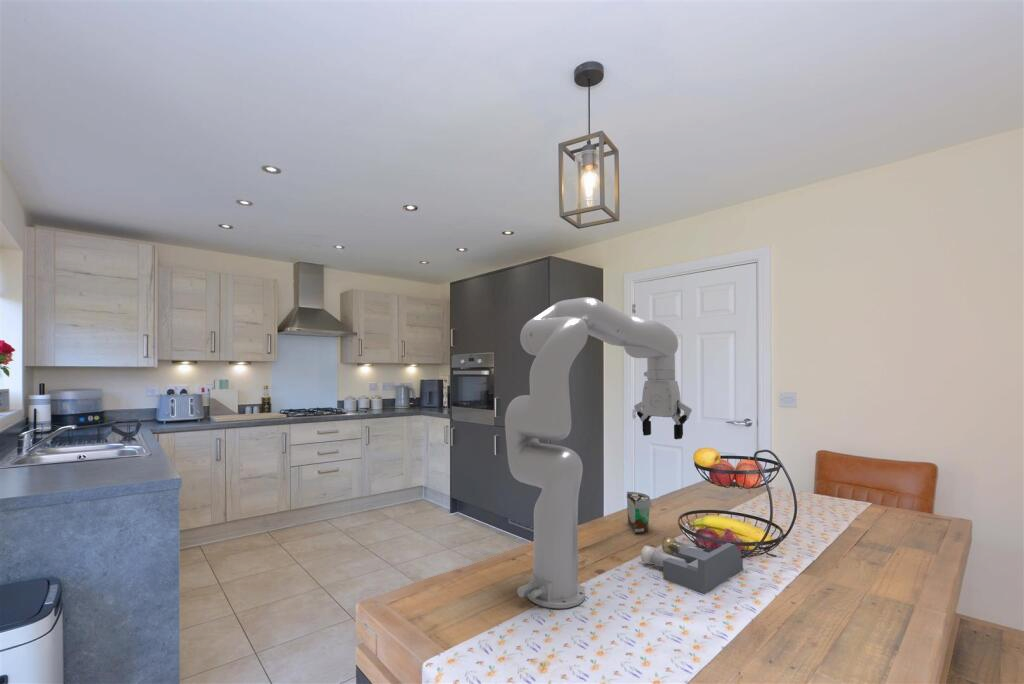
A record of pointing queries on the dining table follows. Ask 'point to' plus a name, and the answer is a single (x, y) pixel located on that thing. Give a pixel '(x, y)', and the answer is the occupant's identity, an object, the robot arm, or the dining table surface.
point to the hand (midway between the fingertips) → (662, 436)
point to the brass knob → (675, 546)
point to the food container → (638, 512)
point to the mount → (703, 567)
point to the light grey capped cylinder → (655, 556)
